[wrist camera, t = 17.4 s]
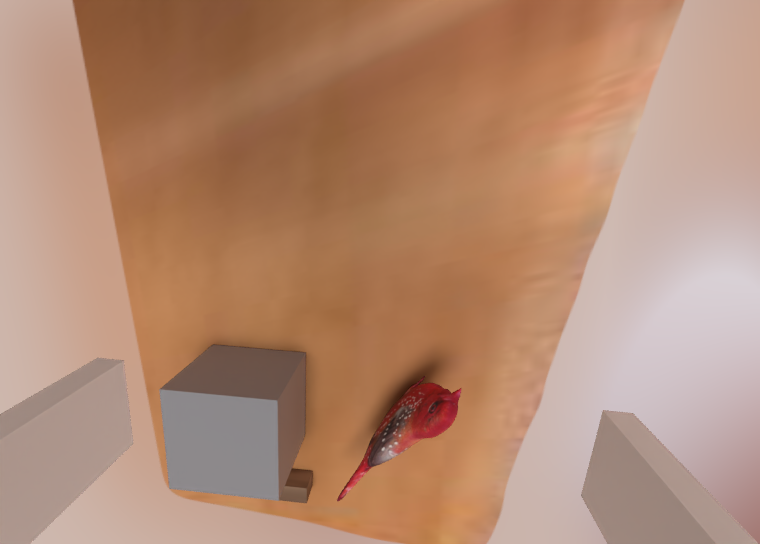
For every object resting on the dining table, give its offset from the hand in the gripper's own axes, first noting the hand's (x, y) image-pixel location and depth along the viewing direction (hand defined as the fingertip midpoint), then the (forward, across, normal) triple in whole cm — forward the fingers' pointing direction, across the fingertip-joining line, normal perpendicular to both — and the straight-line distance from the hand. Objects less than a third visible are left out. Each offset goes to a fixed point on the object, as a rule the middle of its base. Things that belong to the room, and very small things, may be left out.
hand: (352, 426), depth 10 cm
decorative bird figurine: (+26, +2, -17) cm, 32 cm away
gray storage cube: (+26, -13, -17) cm, 34 cm away
